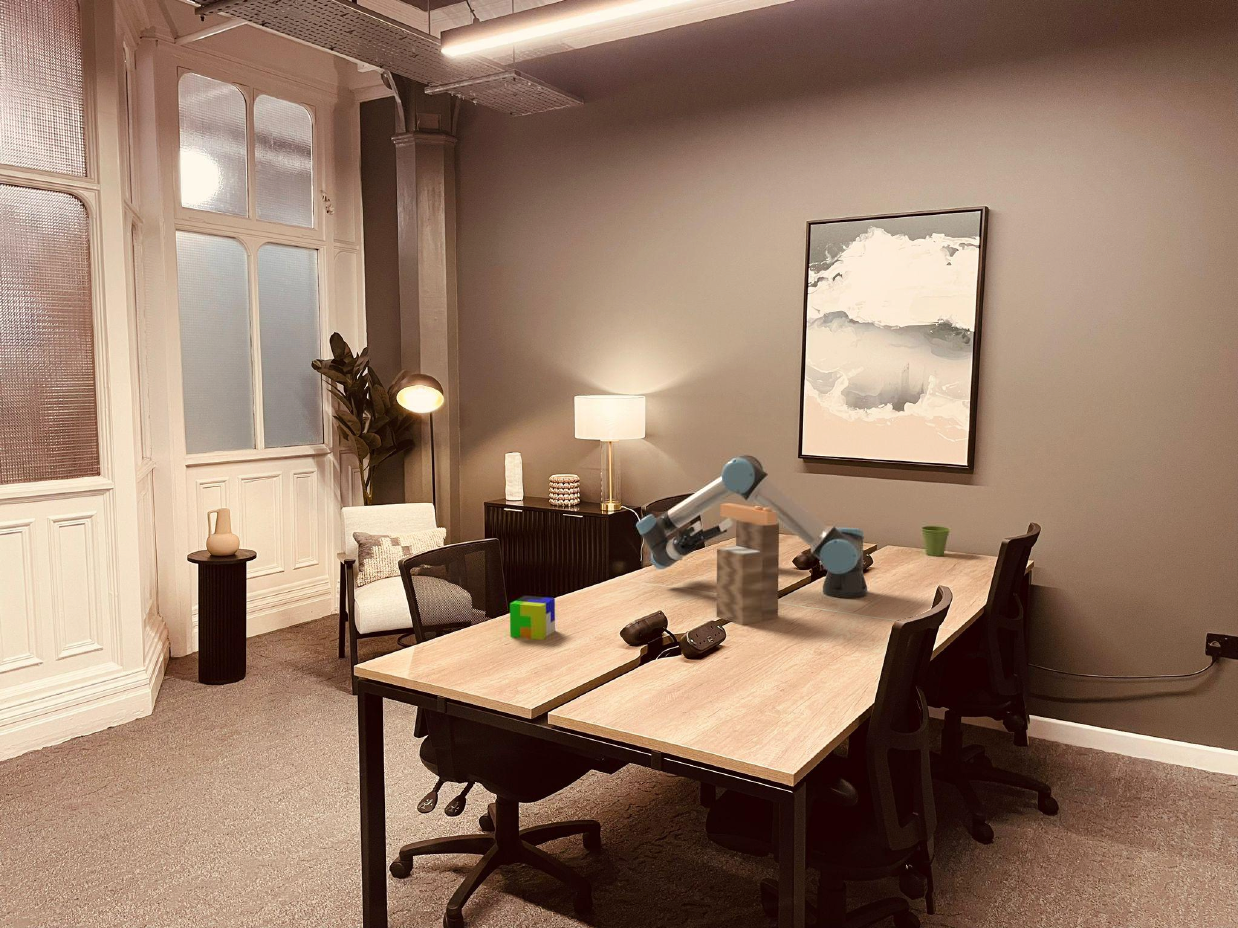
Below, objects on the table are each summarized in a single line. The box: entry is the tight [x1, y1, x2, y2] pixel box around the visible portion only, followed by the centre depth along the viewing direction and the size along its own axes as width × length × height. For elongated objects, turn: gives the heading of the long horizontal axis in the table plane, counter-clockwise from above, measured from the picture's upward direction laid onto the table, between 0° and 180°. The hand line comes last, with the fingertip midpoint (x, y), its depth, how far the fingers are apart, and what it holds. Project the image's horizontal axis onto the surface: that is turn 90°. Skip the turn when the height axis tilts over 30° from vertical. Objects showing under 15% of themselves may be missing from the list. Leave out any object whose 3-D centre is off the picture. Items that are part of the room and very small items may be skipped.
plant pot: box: [920, 525, 951, 557], centre depth 387 cm, size 12×12×11 cm
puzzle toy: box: [509, 595, 556, 641], centre depth 275 cm, size 10×10×10 cm
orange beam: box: [720, 502, 778, 525], centre depth 295 cm, size 22×4×5 cm, turn 34°
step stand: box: [716, 519, 780, 626], centre depth 291 cm, size 12×15×30 cm
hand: (716, 522), depth 307 cm, fingers open, 13 cm apart
